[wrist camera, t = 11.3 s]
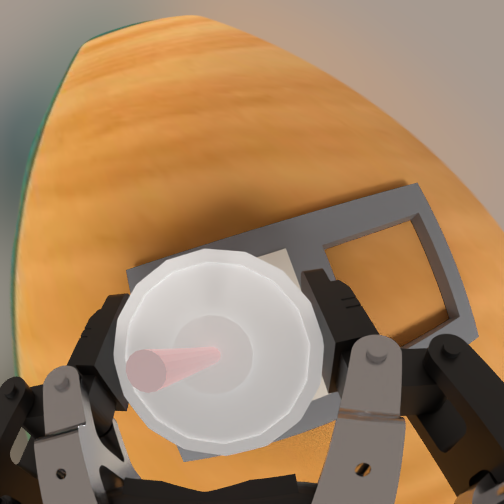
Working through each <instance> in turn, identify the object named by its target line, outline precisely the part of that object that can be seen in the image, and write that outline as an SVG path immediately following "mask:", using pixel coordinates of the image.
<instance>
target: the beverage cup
mask: <svg viewBox="0 0 504 504" xmlns="http://www.w3.org/2000/svg"><path fill="white" fill-rule="evenodd" d="M323 352H324V343H323V337H322V334H321V331H320V328H319V325H318V322H317V319H316V316H315V313H314V310H313V307H312V304H311V302H310V301H309V299H308V298H307V297H306V296H305V295H304V294H303V293H302V292H301V290H300V289H299V288H298V287H297V286H296V285H295V284H294V283H293V281H292V280H291V279H290V278H289V277H288V276H287V275H286V274H285V272H284V271H283V270H281V269H279V268H277V267H275V266H273V265H271V264H269V263H267V262H265V261H263V260H261V259H259V258H257V257H255V256H253V255H251V254H249V253H247V252H241V251H229V250H216V249H201V250H198V251H195V252H192V253H188V254H185V255H182V256H178V257H175V258H172V259H169V260H166V261H165V262H164V263H162V264H161V265H160V266H159V267H157V268H156V269H155V270H154V271H152V272H151V273H150V274H149V275H147V276H146V277H145V278H144V279H143V280H141V281H140V282H139V283H138V284H136V286H135V288H134V290H133V291H132V293H131V295H130V297H129V298H128V300H127V302H126V304H125V306H124V308H123V309H122V311H121V313H120V315H119V317H118V319H117V327H116V335H115V344H114V363H115V366H116V370H117V374H118V378H119V381H120V385H121V388H122V391H123V395H124V397H125V398H126V399H127V401H128V402H129V403H130V405H131V406H132V407H133V409H134V410H135V411H136V413H137V414H138V415H139V417H140V418H141V419H142V420H143V422H144V423H145V424H146V425H147V427H148V428H149V429H151V430H153V431H154V432H156V433H157V434H159V435H161V436H162V437H164V438H166V439H167V440H169V441H171V442H172V443H174V444H176V445H178V446H179V447H181V448H183V449H186V450H191V451H197V452H203V453H209V454H216V455H224V456H227V455H232V454H236V453H240V452H245V451H249V450H253V449H257V448H260V447H264V446H267V445H269V444H270V443H271V442H273V441H274V440H276V439H277V438H278V437H280V436H281V435H282V434H284V433H285V432H286V431H288V430H289V429H290V428H291V427H293V426H294V425H295V424H297V423H298V422H299V421H300V420H301V419H302V417H303V415H304V413H305V412H306V410H307V408H308V406H309V405H310V403H311V401H312V399H313V397H314V395H315V394H316V392H317V390H318V388H319V386H320V384H321V376H322V365H323Z"/></svg>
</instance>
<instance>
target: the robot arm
mask: <svg viewBox="0 0 504 504" xmlns="http://www.w3.org/2000/svg"><path fill="white" fill-rule="evenodd" d="M301 292H302V293H303V294H304V295H305V296H306V297H307V298H308V299H309V301H310V302H311V304H312V307H313V310H314V313H315V316H316V319H317V322H318V325H319V328H320V331H321V334H322V337H323V343H324V352H323V365H322V377H323V380H324V383H325V386H326V389H327V392H328V394H330V393H334V392H338V393H339V396H340V398H341V402H340V407H339V411H338V415H337V419H336V423H335V427H334V431H333V434H332V438H331V442H330V445H329V449H328V452H327V455H326V459H325V462H324V465H323V468H322V471H321V474H320V477H319V480H318V483H309V482H297V481H296V476H295V474H292V475H286V476H279V477H272V478H264V479H255V480H249V481H246V482H242V483H239V484H236V485H232V486H229V487H225V488H221V489H217V490H213V491H209V492H201V491H196V490H192V489H188V488H184V487H180V486H177V485H173V484H170V483H166V482H163V481H153V480H143V479H141V478H140V476H139V475H138V474H137V473H136V471H135V470H134V468H133V466H132V464H131V462H130V460H129V457H128V454H127V451H126V449H125V446H124V443H123V440H122V437H121V434H120V431H119V428H118V424H117V422H116V420H115V419H114V418H113V416H114V412H115V411H127V408H128V403H129V402H128V401H127V399H126V398H125V397H124V395H123V391H122V388H121V385H120V381H119V378H118V374H117V370H116V366H115V363H114V344H115V335H116V327H117V319H118V317H119V315H120V313H121V311H122V309H123V308H124V306H125V304H126V302H127V300H128V298H129V297H130V295H129V294H117V295H109V296H108V297H107V299H106V301H105V303H104V304H103V306H102V308H101V309H99V310H98V311H97V312H96V313H95V314H94V315H93V316H92V317H91V318H90V319H89V321H88V323H87V325H86V327H85V330H84V331H83V332H82V334H81V338H80V339H79V341H78V343H77V345H76V347H75V349H74V351H73V353H72V355H71V357H70V360H69V362H68V364H67V366H61V367H58V368H56V369H54V370H53V371H51V372H50V373H49V374H48V376H47V377H46V379H45V381H44V384H43V385H38V386H33V387H29V386H28V385H27V384H26V382H25V381H24V380H23V379H22V378H21V377H12V378H10V379H8V380H7V381H6V382H4V383H3V384H2V386H1V387H0V504H394V502H395V498H396V493H397V488H398V482H399V476H400V470H401V463H402V456H403V448H404V439H405V419H404V418H403V417H400V416H407V418H408V419H409V421H410V422H411V424H412V425H413V427H414V428H415V430H416V431H417V433H418V435H419V436H420V438H421V439H422V441H423V442H424V444H425V445H426V447H427V449H428V450H429V452H430V453H431V455H432V457H433V458H434V460H435V461H436V463H437V465H438V466H439V468H440V469H441V471H442V473H443V474H444V476H445V478H446V479H447V481H448V482H449V484H450V486H451V487H452V489H453V491H454V492H455V494H456V496H457V499H456V501H455V503H454V504H504V382H503V381H502V380H501V379H500V378H499V377H498V376H497V375H496V373H495V372H494V371H493V370H492V369H491V368H490V367H489V366H488V365H487V364H486V363H485V361H484V360H483V359H482V358H481V357H480V356H479V355H478V354H477V353H476V352H475V351H474V350H473V349H472V348H471V347H470V346H469V345H468V344H467V343H466V342H465V341H464V340H463V339H462V338H460V337H458V336H456V335H453V334H440V335H437V336H436V337H434V338H433V339H432V340H431V342H430V344H429V346H428V348H417V349H404V348H400V347H399V345H398V344H397V343H396V342H395V341H394V340H392V339H391V338H388V337H386V336H382V335H379V333H378V331H377V330H376V328H375V326H374V325H373V323H372V322H371V320H370V318H369V317H368V315H367V314H366V312H365V310H364V309H363V307H362V306H361V304H360V302H359V301H358V299H357V298H356V296H355V295H354V293H353V291H352V290H351V288H350V287H349V286H347V285H346V284H344V283H343V282H341V281H340V280H335V281H330V279H329V278H328V276H327V274H326V273H325V271H324V269H323V268H320V269H314V270H307V271H302V272H301ZM21 427H22V428H24V429H25V430H26V431H27V432H28V433H29V434H30V435H31V437H30V439H29V441H28V444H27V446H26V449H25V451H24V453H23V455H22V458H21V460H20V462H19V463H18V464H17V465H15V464H14V463H13V462H12V460H11V458H10V450H11V448H12V445H13V443H14V441H15V439H16V437H17V435H18V432H19V431H20V428H21Z"/></svg>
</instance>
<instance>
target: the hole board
mask: <svg viewBox="0 0 504 504" xmlns="http://www.w3.org/2000/svg"><path fill="white" fill-rule="evenodd" d="M409 220H411V222H412V224H413V226H414V228H415V230H416V233H417V235H418V237H419V239H420V241H421V244H422V246H423V248H424V251H425V253H426V255H427V258H428V260H429V263H430V265H431V268H432V270H433V273H434V275H435V278H436V281H437V283H438V286H439V289H440V292H441V295H442V298H443V300H444V303H445V306H446V310H447V313H448V316H449V319H448V320H447V321H445V322H444V323H442V324H440V325H439V326H437V327H435V328H434V329H432V330H430V331H429V332H427V333H425V334H424V335H422V336H420V337H418V338H417V339H415V340H413V341H411V342H409V343H407V344H406V345H404V346H402V347H400V348H404V349H417V348H428V346H429V344H430V342H431V340H432V339H433V338H434V337H436V336H437V335H440V334H453V335H456V336H458V337H460V338H462V339H463V340H464V341H465V342H466V343H467V344H470V343H471V342H472V341H474V340H475V339H476V338H477V337H479V335H478V332H477V328H476V324H475V320H474V317H473V313H472V310H471V307H470V304H469V300H468V297H467V294H466V291H465V288H464V285H463V283H462V280H461V277H460V274H459V272H458V269H457V266H456V264H455V261H454V259H453V256H452V254H451V251H450V249H449V247H448V244H447V242H446V240H445V237H444V235H443V233H442V231H441V228H440V226H439V224H438V222H437V220H436V218H435V216H434V214H433V212H432V210H431V208H430V206H429V204H428V202H427V200H426V198H425V196H424V194H423V192H422V190H421V189H420V187H419V185H418V183H414V184H411V185H407V186H403V187H400V188H396V189H392V190H389V191H385V192H381V193H378V194H374V195H371V196H367V197H363V198H360V199H356V200H353V201H349V202H346V203H342V204H339V205H335V206H332V207H328V208H325V209H321V210H318V211H314V212H311V213H307V214H304V215H301V216H297V217H294V218H291V219H287V220H284V221H280V222H277V223H274V224H270V225H267V226H264V227H260V228H257V229H254V230H251V231H247V232H244V233H241V234H238V235H234V236H231V237H228V238H225V239H221V240H218V241H215V242H212V243H209V244H205V245H202V246H199V247H196V248H193V249H190V250H186V251H183V252H180V253H177V254H174V255H171V256H168V257H165V258H162V259H159V260H155V261H152V262H149V263H146V264H143V265H140V266H137V267H134V268H131V269H128V270H126V272H127V277H128V283H129V288H130V293H132V291H133V290H134V288H135V286H136V284H138V283H139V282H140V281H141V280H143V279H144V278H145V277H146V276H147V275H149V274H150V273H151V272H152V271H154V270H155V269H156V268H157V267H159V266H160V265H161V264H162V263H164V262H165V261H166V260H169V259H172V258H175V257H178V256H182V255H185V254H188V253H192V252H195V251H198V250H201V249H216V250H229V251H241V252H247V253H249V254H251V255H253V256H255V257H257V258H259V259H261V260H263V261H265V262H267V263H269V264H271V265H273V266H275V267H277V268H279V269H281V270H283V271H284V272H285V274H286V275H287V276H288V277H289V278H290V279H291V280H292V281H293V283H294V284H295V285H296V286H297V287H298V288H299V289H300V290H301V272H302V271H307V270H314V269H320V268H323V269H324V271H325V273H326V274H327V276H328V278H329V279H330V281H335V280H336V279H335V276H334V274H333V271H332V269H331V266H330V263H329V261H328V258H327V256H326V253H325V251H324V249H327V248H330V247H333V246H336V245H339V244H342V243H345V242H348V241H351V240H354V239H357V238H360V237H363V236H366V235H369V234H372V233H375V232H378V231H380V230H383V229H386V228H389V227H392V226H395V225H398V224H401V223H403V222H406V221H409ZM340 402H341V398H340V396H339V393H338V392H334V393H330V394H328V392H327V389H326V386H325V383H324V380H323V377H322V376H321V384H320V386H319V388H318V390H317V392H316V394H315V395H314V397H313V399H312V401H311V403H310V405H309V406H308V408H307V410H306V412H305V413H304V415H303V417H302V419H301V420H300V421H299V422H298V423H297V424H295V425H294V426H293V427H291V428H290V429H289V430H288V431H286V432H285V433H284V434H282V435H281V436H280V437H278V438H277V439H276V440H274V441H273V442H275V441H279V440H282V439H285V438H288V437H291V436H294V435H297V434H300V433H303V432H306V431H308V430H311V429H314V428H316V427H319V426H322V425H324V424H327V423H329V422H332V421H334V420H336V419H337V415H338V411H339V407H340ZM271 443H272V442H271ZM177 447H178V450H179V452H180V454H181V457H182V459H183V461H184V462H186V461H193V460H199V459H205V458H210V457H215V456H220V455H216V454H209V453H203V452H197V451H191V450H186V449H183V448H181V447H179V446H178V445H177Z"/></svg>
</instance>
